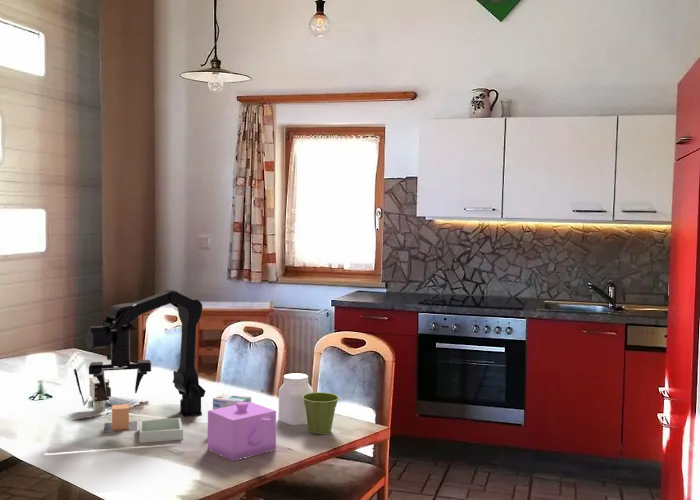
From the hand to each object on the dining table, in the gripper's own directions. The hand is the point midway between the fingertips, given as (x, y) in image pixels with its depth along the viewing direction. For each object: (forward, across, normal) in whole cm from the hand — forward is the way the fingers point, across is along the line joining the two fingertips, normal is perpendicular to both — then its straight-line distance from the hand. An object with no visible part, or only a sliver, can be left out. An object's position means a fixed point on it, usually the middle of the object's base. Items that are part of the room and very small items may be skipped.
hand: (120, 393), depth 227 cm
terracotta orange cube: (+11, 0, 0) cm, 11 cm away
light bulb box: (+12, -34, +10) cm, 37 cm away
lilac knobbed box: (+12, -35, +30) cm, 48 cm away
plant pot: (+12, -61, +18) cm, 65 cm away
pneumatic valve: (+12, +7, -22) cm, 26 cm away
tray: (+11, -12, +11) cm, 20 cm away
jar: (+12, -56, +4) cm, 57 cm away
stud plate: (+11, 0, 0) cm, 11 cm away
